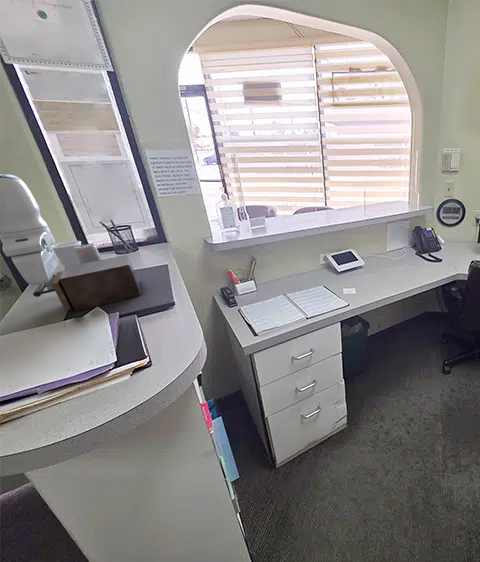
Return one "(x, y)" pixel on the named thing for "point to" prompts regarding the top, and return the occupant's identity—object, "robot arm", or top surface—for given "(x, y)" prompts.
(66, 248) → the dixie cup
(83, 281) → the cabinet
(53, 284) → the drawer
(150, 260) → the top surface
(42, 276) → the robot arm
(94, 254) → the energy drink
